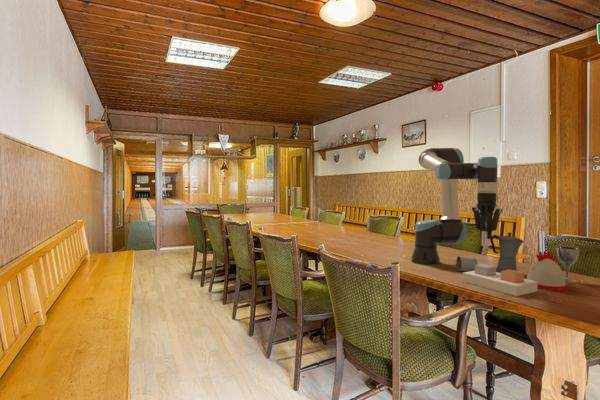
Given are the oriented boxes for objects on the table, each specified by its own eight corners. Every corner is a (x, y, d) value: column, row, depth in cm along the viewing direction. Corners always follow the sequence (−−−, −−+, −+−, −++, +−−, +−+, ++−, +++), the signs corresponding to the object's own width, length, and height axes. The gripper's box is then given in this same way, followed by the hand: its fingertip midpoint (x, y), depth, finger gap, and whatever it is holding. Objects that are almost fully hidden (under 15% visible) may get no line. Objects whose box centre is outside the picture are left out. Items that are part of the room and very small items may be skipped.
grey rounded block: (474, 273, 158) (474, 265, 157) (483, 271, 160) (483, 263, 160) (487, 276, 152) (487, 268, 152) (495, 274, 155) (496, 266, 155)
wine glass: (557, 277, 166) (558, 245, 165) (579, 280, 160) (580, 247, 159) (554, 280, 160) (555, 247, 159) (576, 284, 154) (577, 249, 154)
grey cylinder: (478, 273, 174) (478, 257, 174) (461, 272, 174) (461, 257, 174) (469, 268, 185) (469, 253, 184) (453, 268, 185) (453, 253, 185)
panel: (462, 281, 159) (462, 272, 158) (482, 277, 165) (482, 269, 165) (516, 296, 137) (516, 286, 137) (537, 291, 144) (537, 281, 144)
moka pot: (519, 277, 166) (520, 234, 165) (485, 271, 177) (486, 231, 177) (526, 273, 172) (527, 233, 171) (492, 268, 184) (493, 230, 183)
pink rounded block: (500, 279, 147) (500, 271, 147) (509, 277, 150) (509, 269, 150) (515, 282, 142) (515, 274, 142) (524, 281, 145) (524, 272, 144)
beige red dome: (519, 281, 159) (520, 248, 159) (551, 281, 159) (552, 248, 158) (539, 290, 145) (540, 254, 145) (574, 290, 145) (575, 254, 144)
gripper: (467, 192, 159) (466, 244, 160) (496, 192, 147) (495, 249, 148) (478, 192, 163) (477, 243, 164) (507, 192, 151) (506, 247, 152)
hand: (485, 245), depth 156 cm, fingers closed
